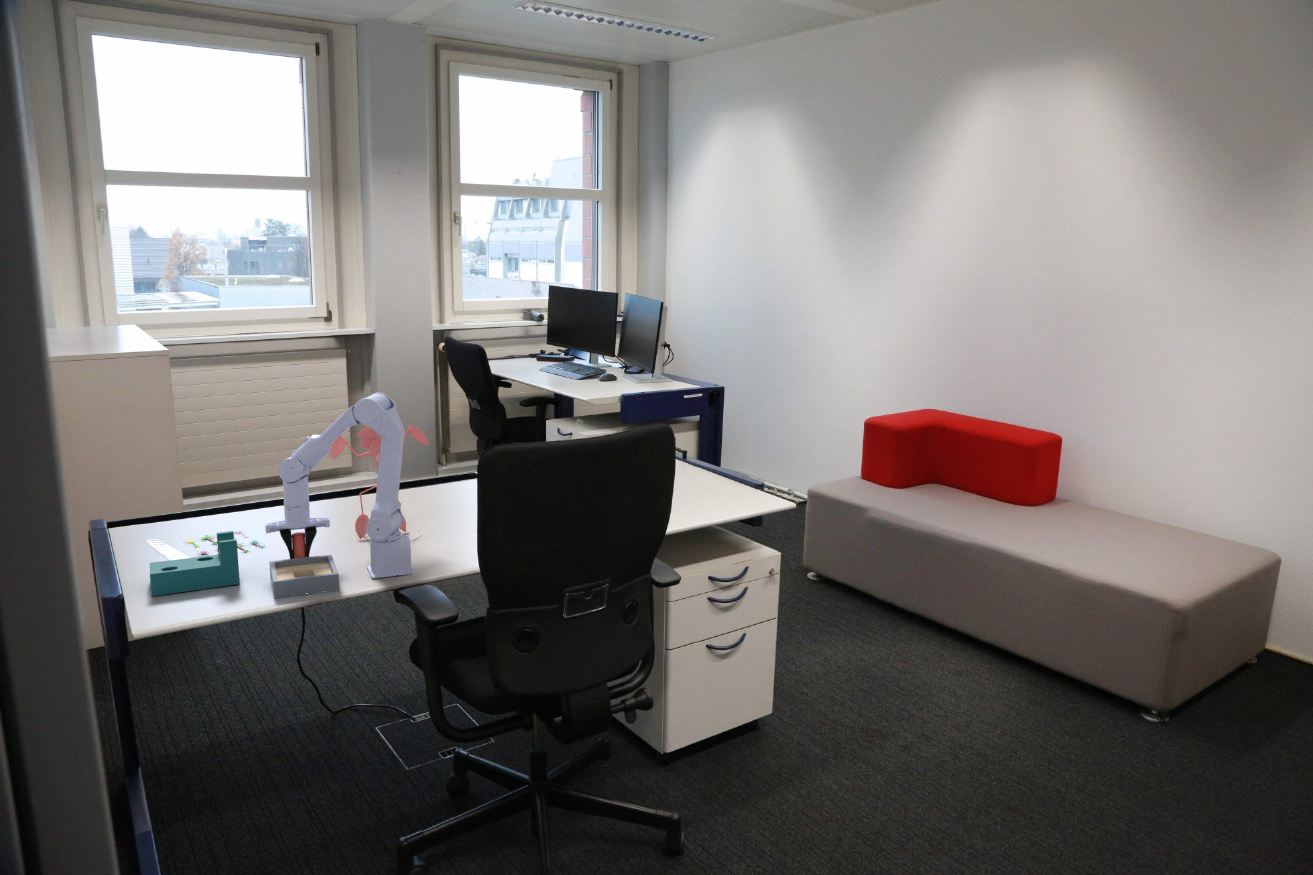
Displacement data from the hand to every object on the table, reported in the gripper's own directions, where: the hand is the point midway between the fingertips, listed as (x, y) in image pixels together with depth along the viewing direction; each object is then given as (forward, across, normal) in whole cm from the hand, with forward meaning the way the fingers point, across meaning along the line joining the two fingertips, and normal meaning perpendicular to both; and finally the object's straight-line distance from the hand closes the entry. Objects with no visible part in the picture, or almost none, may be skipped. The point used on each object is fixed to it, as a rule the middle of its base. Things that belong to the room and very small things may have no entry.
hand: (299, 557), depth 221 cm
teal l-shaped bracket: (+3, +23, +2) cm, 23 cm away
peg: (+2, 0, 0) cm, 2 cm away
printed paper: (+3, +16, -24) cm, 30 cm away
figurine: (+3, -23, -16) cm, 28 cm away
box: (+3, 0, +12) cm, 12 cm away
